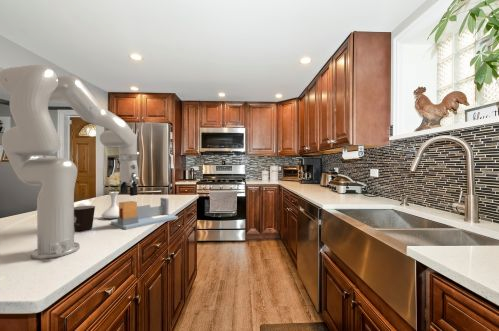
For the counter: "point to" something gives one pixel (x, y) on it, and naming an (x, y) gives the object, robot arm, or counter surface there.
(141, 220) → the rail
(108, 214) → the flower in vase
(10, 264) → the counter surface
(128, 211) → the clip
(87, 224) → the coffee mug
